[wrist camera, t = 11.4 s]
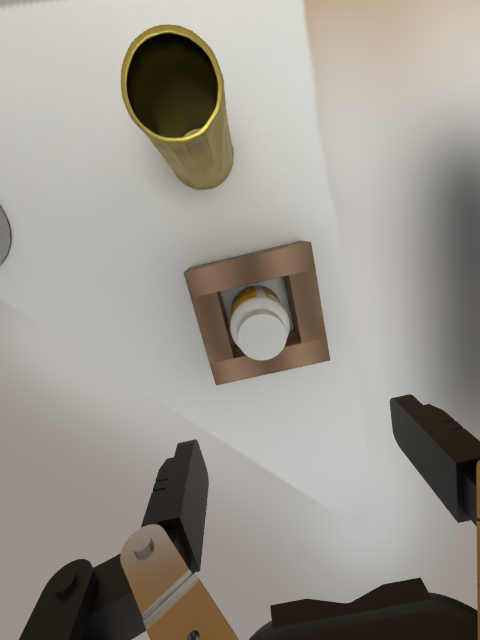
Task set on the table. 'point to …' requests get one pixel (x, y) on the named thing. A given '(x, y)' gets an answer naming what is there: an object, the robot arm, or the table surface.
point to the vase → (179, 103)
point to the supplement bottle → (259, 323)
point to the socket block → (248, 269)
